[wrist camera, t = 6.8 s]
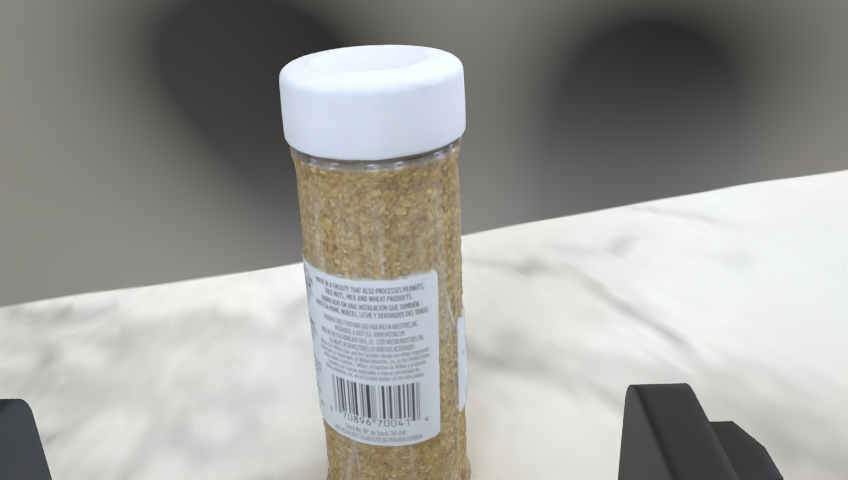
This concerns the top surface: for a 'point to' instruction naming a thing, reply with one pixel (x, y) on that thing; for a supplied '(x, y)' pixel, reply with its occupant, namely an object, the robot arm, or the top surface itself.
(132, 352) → the top surface
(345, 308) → the brown spice jar
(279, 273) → the top surface
